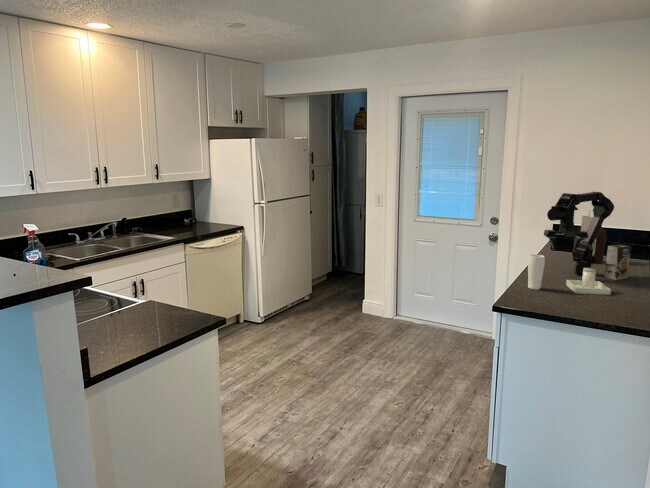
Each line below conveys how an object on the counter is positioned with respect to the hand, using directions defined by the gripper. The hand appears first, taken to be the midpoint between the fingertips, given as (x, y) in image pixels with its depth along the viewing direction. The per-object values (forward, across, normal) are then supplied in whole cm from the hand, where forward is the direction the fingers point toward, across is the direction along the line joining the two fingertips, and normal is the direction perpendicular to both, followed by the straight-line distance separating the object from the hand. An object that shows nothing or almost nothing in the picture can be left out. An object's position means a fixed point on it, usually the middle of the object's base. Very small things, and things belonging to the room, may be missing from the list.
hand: (564, 251), depth 242 cm
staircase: (+14, +36, +75) cm, 85 cm away
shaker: (+12, +5, -22) cm, 26 cm away
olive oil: (+13, +27, +40) cm, 50 cm away
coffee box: (+13, +26, +4) cm, 29 cm away
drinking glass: (+13, -18, -24) cm, 33 cm away
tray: (+13, +5, -22) cm, 26 cm away
